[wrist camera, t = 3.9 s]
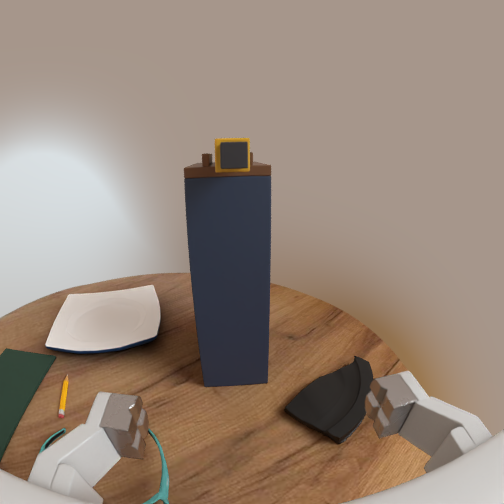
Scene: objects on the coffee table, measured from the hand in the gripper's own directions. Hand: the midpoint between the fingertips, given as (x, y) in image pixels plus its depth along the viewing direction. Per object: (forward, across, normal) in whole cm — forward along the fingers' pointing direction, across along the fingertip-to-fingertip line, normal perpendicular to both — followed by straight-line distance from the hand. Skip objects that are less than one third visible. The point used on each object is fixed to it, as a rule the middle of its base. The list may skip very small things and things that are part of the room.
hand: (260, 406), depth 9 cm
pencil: (+17, +24, +20) cm, 35 cm away
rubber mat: (+12, +34, +20) cm, 41 cm away
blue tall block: (+27, 0, +19) cm, 33 cm away
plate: (+35, +23, +20) cm, 46 cm away
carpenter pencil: (+22, +1, -7) cm, 23 cm away
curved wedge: (+15, -12, +19) cm, 27 cm away
